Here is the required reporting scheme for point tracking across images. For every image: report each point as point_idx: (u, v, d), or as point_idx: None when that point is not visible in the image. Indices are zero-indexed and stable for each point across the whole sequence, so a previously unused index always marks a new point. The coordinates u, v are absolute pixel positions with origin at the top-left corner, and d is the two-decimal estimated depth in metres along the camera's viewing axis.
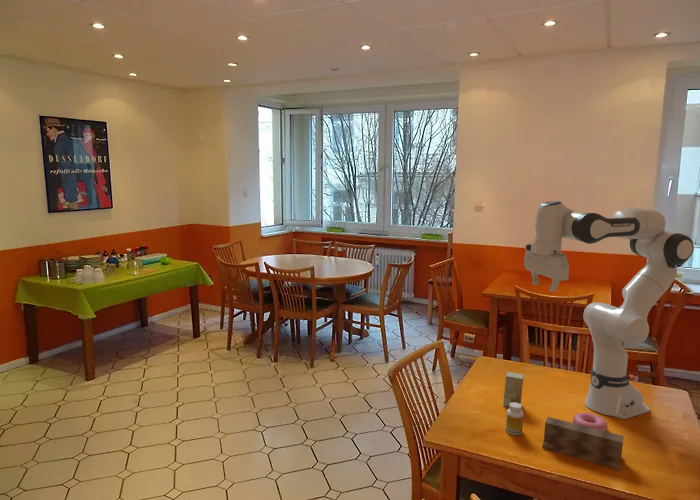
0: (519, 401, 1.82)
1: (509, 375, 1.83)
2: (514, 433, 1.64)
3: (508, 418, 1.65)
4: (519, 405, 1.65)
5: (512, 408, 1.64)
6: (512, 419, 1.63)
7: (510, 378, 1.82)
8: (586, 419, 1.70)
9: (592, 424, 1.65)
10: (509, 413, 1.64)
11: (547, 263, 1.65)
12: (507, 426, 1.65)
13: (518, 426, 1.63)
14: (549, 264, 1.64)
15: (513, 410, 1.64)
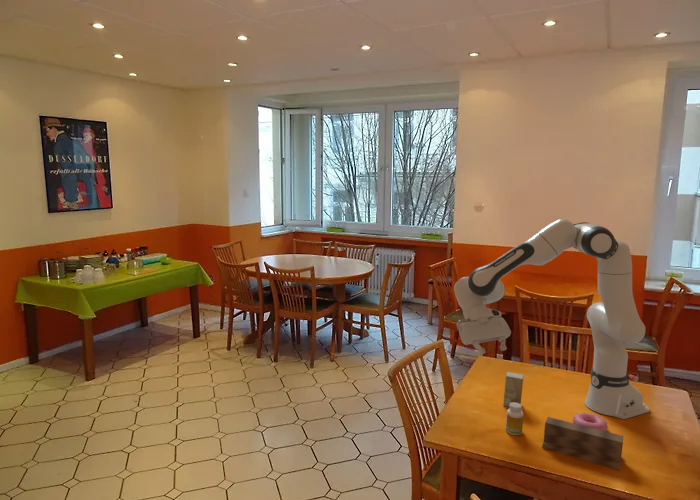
0: (519, 401, 1.82)
1: (509, 375, 1.83)
2: (514, 433, 1.64)
3: (508, 418, 1.65)
4: (519, 405, 1.65)
5: (512, 408, 1.64)
6: (512, 419, 1.63)
7: (510, 378, 1.82)
8: (586, 419, 1.70)
9: (592, 424, 1.65)
10: (509, 413, 1.64)
11: None
12: (507, 426, 1.65)
13: (518, 426, 1.63)
14: None
15: (513, 410, 1.64)
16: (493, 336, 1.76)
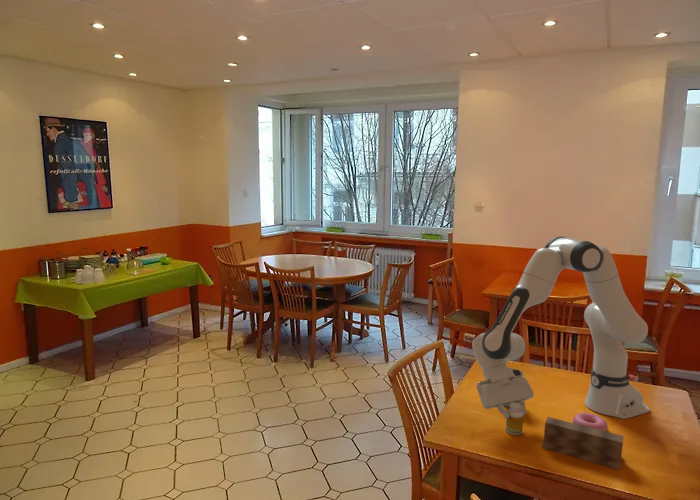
0: None
1: None
2: (514, 433, 1.64)
3: (508, 418, 1.65)
4: (519, 405, 1.65)
5: (512, 408, 1.64)
6: (512, 419, 1.63)
7: None
8: (586, 419, 1.70)
9: (592, 424, 1.65)
10: None
11: None
12: (507, 426, 1.65)
13: (518, 426, 1.63)
14: None
15: (513, 410, 1.64)
16: (515, 399, 1.67)
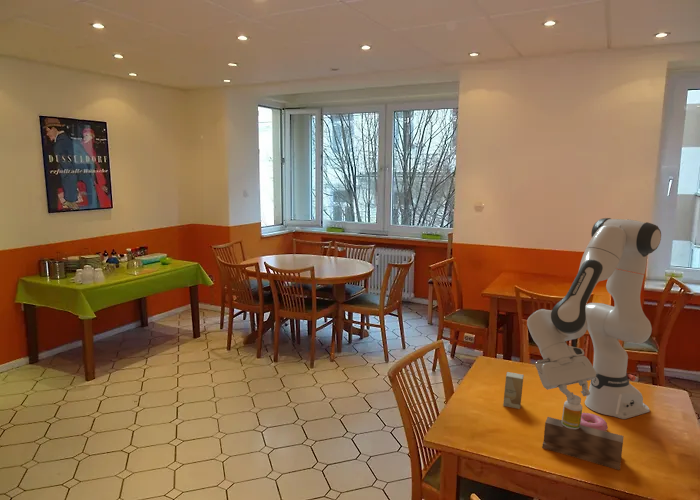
0: (519, 401, 1.82)
1: (509, 375, 1.83)
2: (572, 427, 1.52)
3: (566, 411, 1.53)
4: (578, 397, 1.53)
5: (571, 400, 1.52)
6: (571, 412, 1.52)
7: (510, 378, 1.82)
8: (586, 419, 1.70)
9: (592, 424, 1.65)
10: (567, 405, 1.53)
11: None
12: (564, 419, 1.54)
13: (577, 420, 1.52)
14: None
15: (572, 402, 1.52)
16: (578, 379, 1.54)
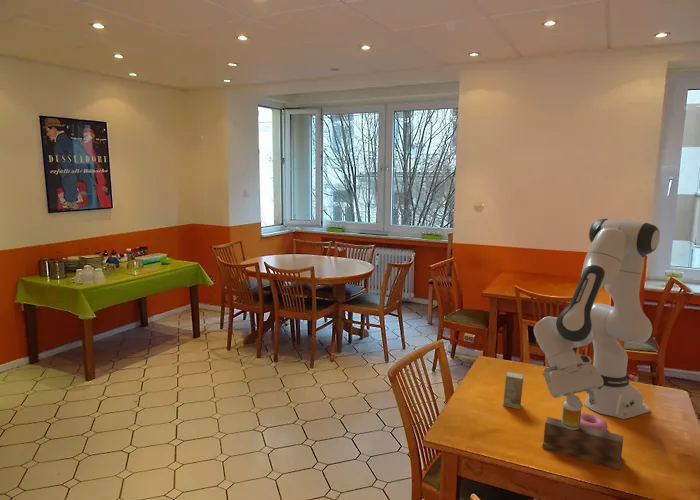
0: (519, 401, 1.82)
1: (509, 375, 1.83)
2: (572, 427, 1.52)
3: (565, 411, 1.53)
4: (577, 397, 1.53)
5: None
6: (570, 413, 1.52)
7: (510, 378, 1.82)
8: (586, 419, 1.70)
9: (592, 424, 1.65)
10: (566, 406, 1.53)
11: None
12: (564, 420, 1.54)
13: (577, 420, 1.52)
14: None
15: (571, 403, 1.52)
16: (585, 387, 1.53)
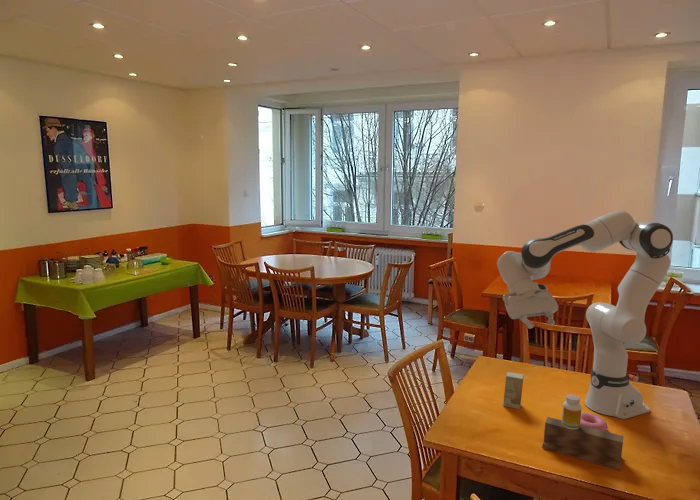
0: (519, 401, 1.82)
1: (509, 375, 1.83)
2: (572, 427, 1.52)
3: (565, 411, 1.53)
4: (577, 397, 1.53)
5: (570, 401, 1.52)
6: (570, 413, 1.52)
7: (510, 378, 1.82)
8: (586, 419, 1.70)
9: (592, 424, 1.65)
10: (566, 406, 1.53)
11: None
12: (564, 420, 1.54)
13: (577, 420, 1.52)
14: None
15: (571, 403, 1.52)
16: (541, 310, 1.69)
